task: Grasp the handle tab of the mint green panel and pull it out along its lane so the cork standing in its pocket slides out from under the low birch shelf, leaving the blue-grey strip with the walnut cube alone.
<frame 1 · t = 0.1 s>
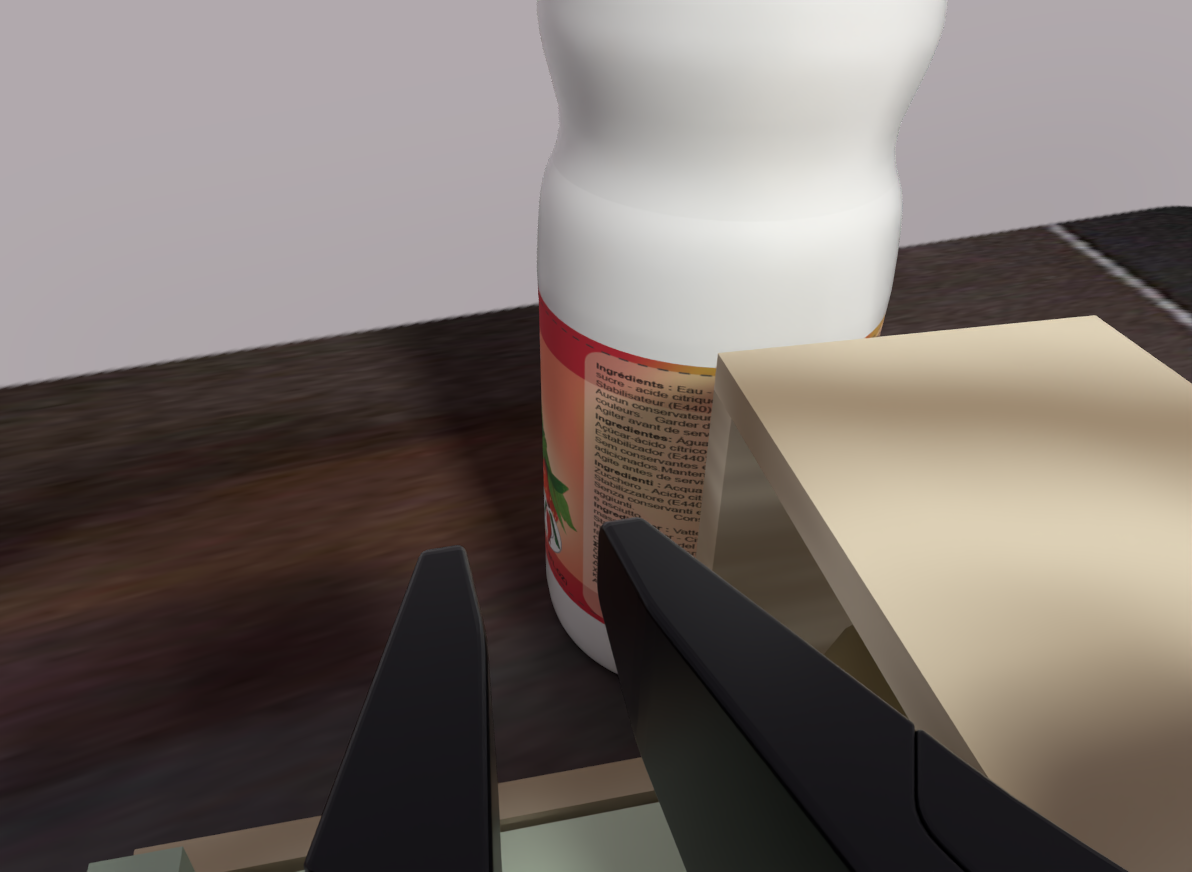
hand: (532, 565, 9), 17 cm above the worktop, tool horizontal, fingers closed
fruit juice: (679, 595, 31), on the worktop
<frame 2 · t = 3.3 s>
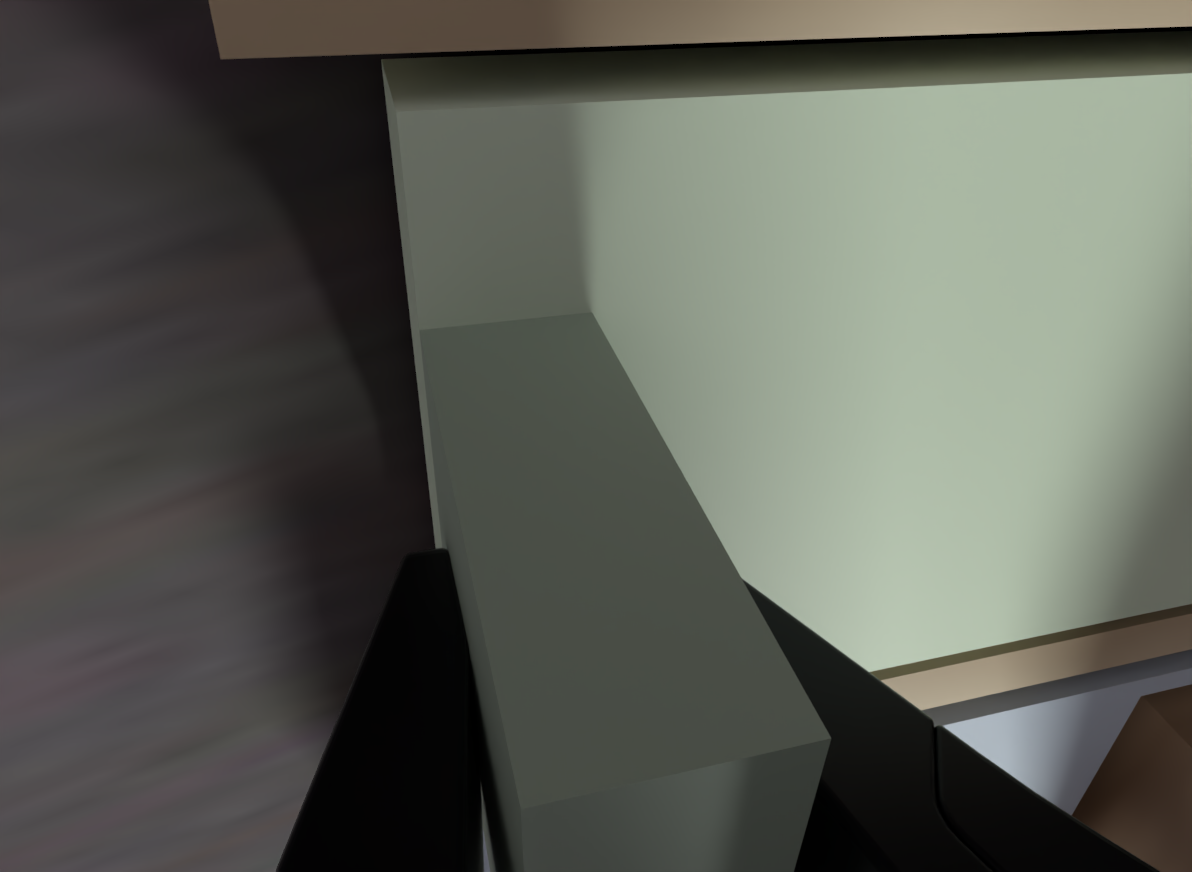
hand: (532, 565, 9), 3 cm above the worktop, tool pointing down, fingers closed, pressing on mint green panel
walnut cube: (1139, 689, 20), on the worktop
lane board: (995, 573, 16), on the worktop
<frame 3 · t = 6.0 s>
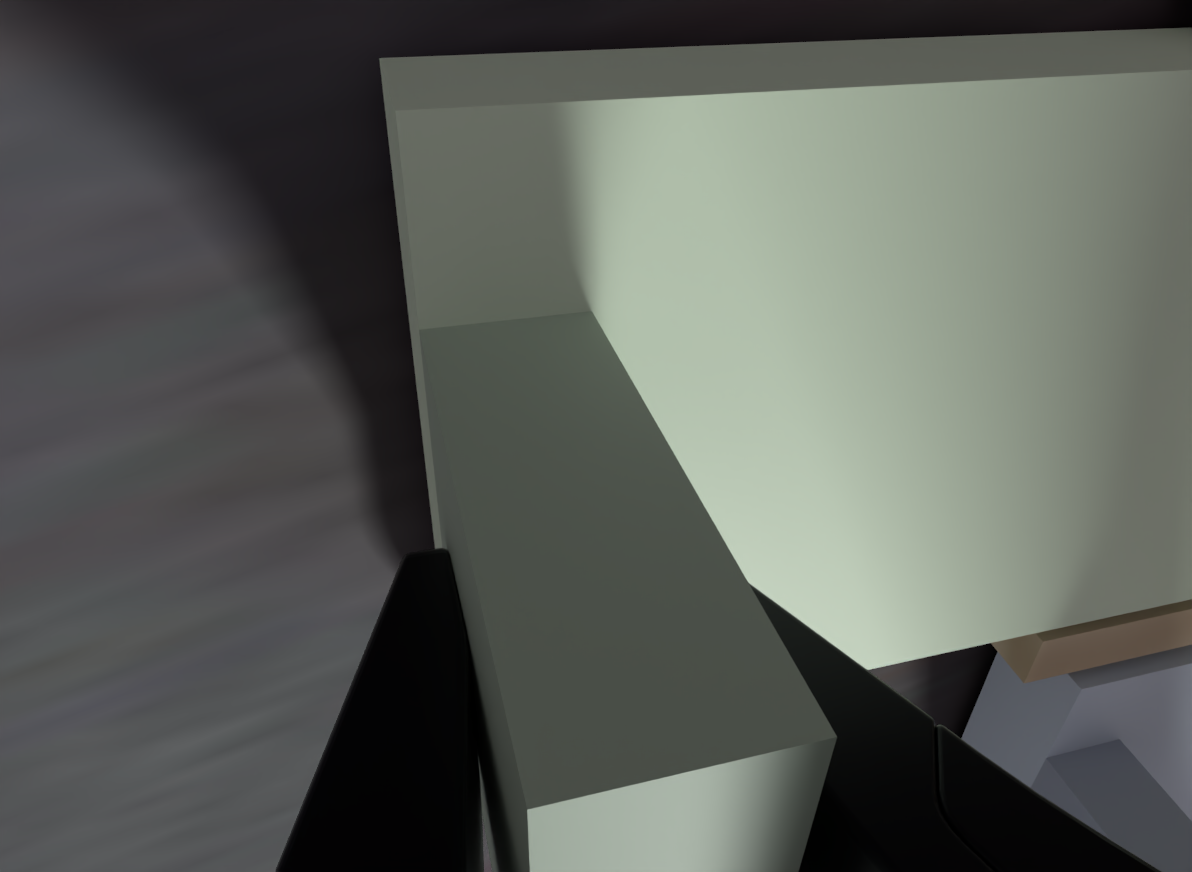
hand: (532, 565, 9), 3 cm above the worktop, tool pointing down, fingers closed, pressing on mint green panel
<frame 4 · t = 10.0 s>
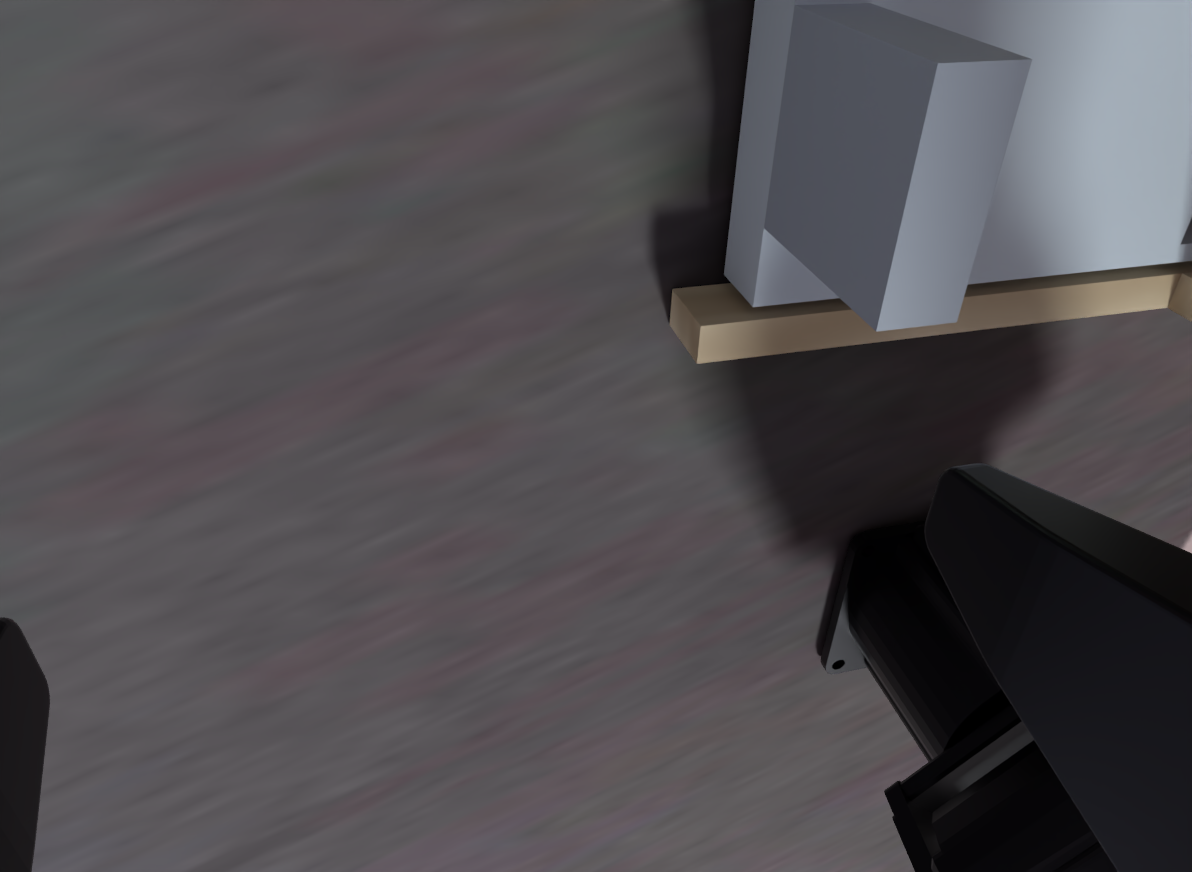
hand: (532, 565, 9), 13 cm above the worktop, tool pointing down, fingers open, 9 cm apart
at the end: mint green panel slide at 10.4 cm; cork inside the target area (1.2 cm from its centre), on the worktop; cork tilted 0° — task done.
